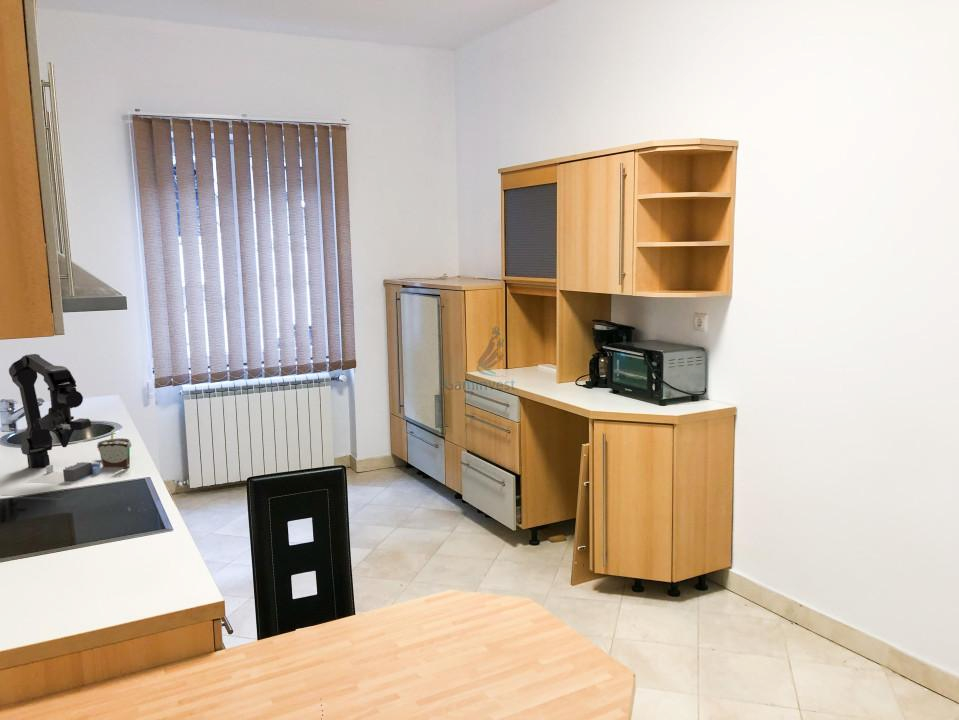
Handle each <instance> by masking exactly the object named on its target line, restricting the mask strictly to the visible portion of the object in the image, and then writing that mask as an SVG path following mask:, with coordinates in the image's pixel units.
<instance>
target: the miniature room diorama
mask: <svg viewBox="0 0 959 720" xmlns="http://www.w3.org/2000/svg"><path fill="white" fill-rule="evenodd" d="M78 463H79V462H76V464H78ZM90 463H91V466H92V474H90V475H88V476H86V477H83V478H81V479H79V480H77V481H64V474H63V471H54V465H53V464H50V465H48V466H46V467H45V469H46V471H45V472H46V473H44V474H42V475H41V474H40V476H35V477H33V478H31V479H30V480H27V481H26V483H40V484H65V485H66V484H67V485H77V484H79V483H82V482H84V481H86V480H88V479H90V478H93V477H95V476H97V475H100V474H101V473H102V470H101V463H99V462H97V463H96V462H90ZM71 466H72V465H67V466H65V467H64V469H66V468H69V467H71Z"/></svg>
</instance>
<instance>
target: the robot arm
mask: <svg viewBox="0 0 959 720" xmlns="http://www.w3.org/2000/svg"><path fill="white" fill-rule="evenodd" d="M8 374H9V376H10V378H11V380H12V381H11V382H13V384H15V385H16V386H17V387H18V390H19V394H20V397H21V401H22V409H23V411H24V416H25V422H26V426H27V427H26V428H25V432H24V434H23V435H24V436H23V437H24V440H23V443H22V445H21V447H20V449H21V450H20V451H21V453H22V454H23V455H25V456H26V457H27V465H28V468H30V469H41V468H46V466H48V465H51V463H50V455H49V453H48V451H53V449H52V448H53V436H52V435H51V433H53V434H55V436H56V437H57V440H58V441H59V443H60V445H61V446H62V448H67V447H68V444H69V442H70V440H71V437H72V435H73V433H74V431H82V430H85V429H87V428H91V427H92V422H91V421H92V420H91V419H89V418H83V417H82V418H78V419H75V418H74V416H73V415H72V414H71V409H73V408H78V407H79V406H81V405H82V403H83V401H84V396H83V395H82V393H81V392H80V391H77V384H76V383H77V381H76V380H75V378H74V376H73V375H72V374H73V373H71V371H70V370H69V369H68V368H67V366H66V367H65V366H63V365H55V364H52V363H51V362H49V361H47V360H45V359H44V358H42V357H41V355H40V354H37V353H31V354H25V355H23V356H21V358H19V359H18V360H16V361H14V362H13V363H12V364H11V365H10V366H9V368H8ZM38 374H39V375H40V376H42V377H43V382H45V384H46V385H47V390H48V391H49V395H50V406H51V407H49V408H48V413H47V414H45V415H44V416H42V415H41V411H40V407H39V402H38V396H37V392H36V388H35V384H36V382H37V379H38Z"/></svg>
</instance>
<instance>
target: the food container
mask: <svg viewBox="0 0 959 720" xmlns="http://www.w3.org/2000/svg"><path fill="white" fill-rule="evenodd" d="M96 445H97V446H96V447H97V449H98V448H99V450H98V452H99V451H100V452H99V455H100V456H99V457H100V460H101V464H102V467H103V468H109V467H110V468H111V467H113V468H122V470H128V469H130V464H131V460H130V458H131V455H130V453H131V451H130V450H131V449H130V448H132V442H131V441H130V439H128V438H124V437H123V438H120V437H119V438H118V437H117V438H113V439H111V438H109V439H104V440H101V441H98V442H97V444H96Z"/></svg>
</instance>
